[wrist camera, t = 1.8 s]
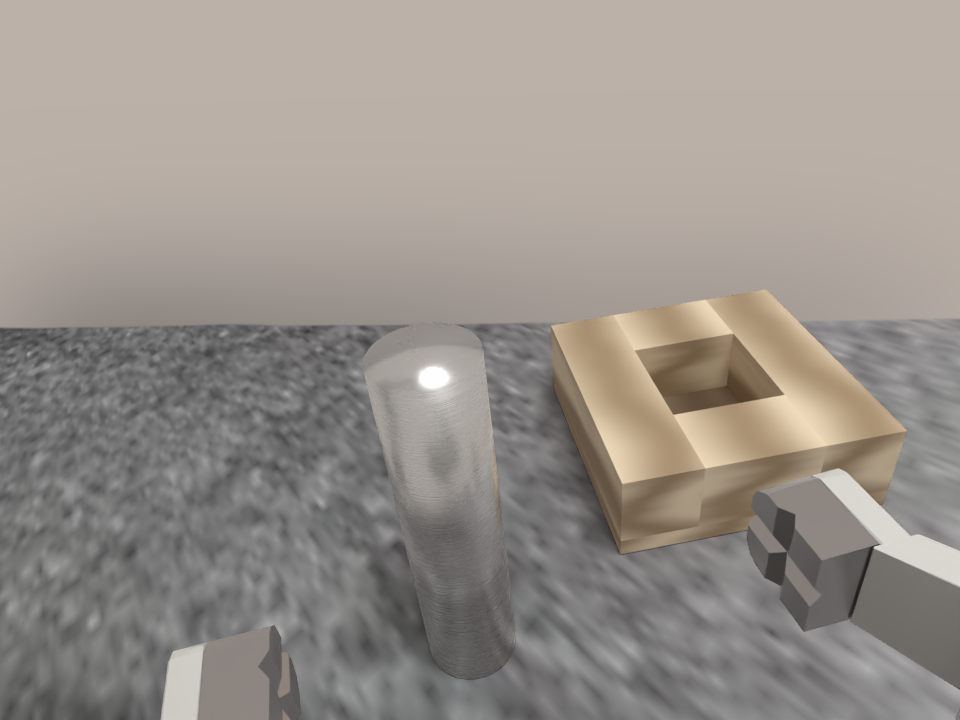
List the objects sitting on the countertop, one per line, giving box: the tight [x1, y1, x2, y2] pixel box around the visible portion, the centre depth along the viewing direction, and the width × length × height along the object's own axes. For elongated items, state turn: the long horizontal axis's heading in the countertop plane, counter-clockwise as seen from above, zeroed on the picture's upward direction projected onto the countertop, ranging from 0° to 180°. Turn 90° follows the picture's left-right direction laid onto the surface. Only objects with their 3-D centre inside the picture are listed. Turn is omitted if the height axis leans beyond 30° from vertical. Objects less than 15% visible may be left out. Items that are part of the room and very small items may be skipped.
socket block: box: [551, 290, 907, 554], centre depth 40 cm, size 14×14×5 cm
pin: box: [363, 323, 516, 679], centre depth 28 cm, size 4×4×16 cm
